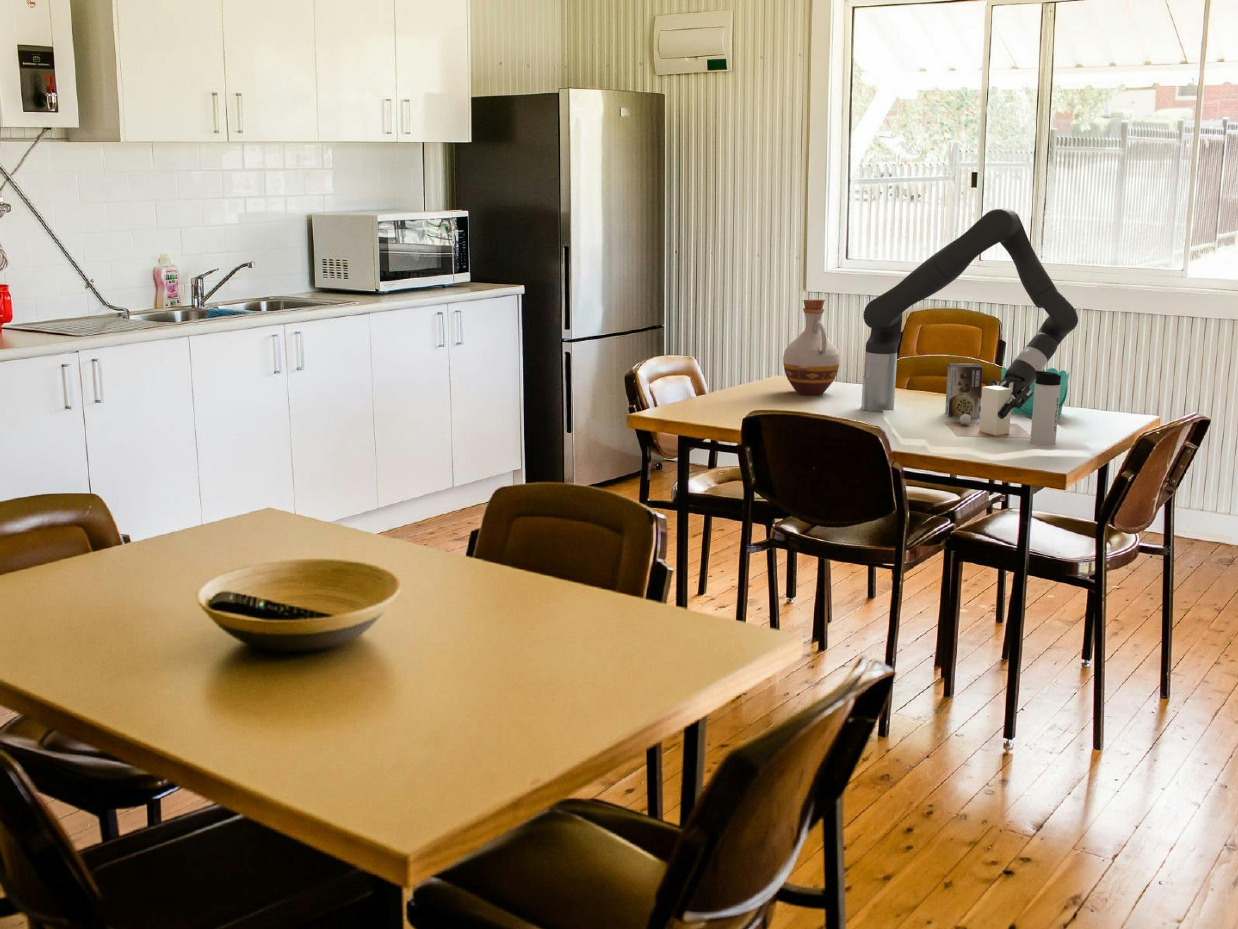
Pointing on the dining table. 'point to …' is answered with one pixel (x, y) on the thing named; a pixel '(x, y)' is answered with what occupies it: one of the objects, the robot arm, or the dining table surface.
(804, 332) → the jug
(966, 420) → the grey ball
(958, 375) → the coffee box
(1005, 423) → the cream tall block
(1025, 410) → the basket
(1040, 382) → the travel mug
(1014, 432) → the board
